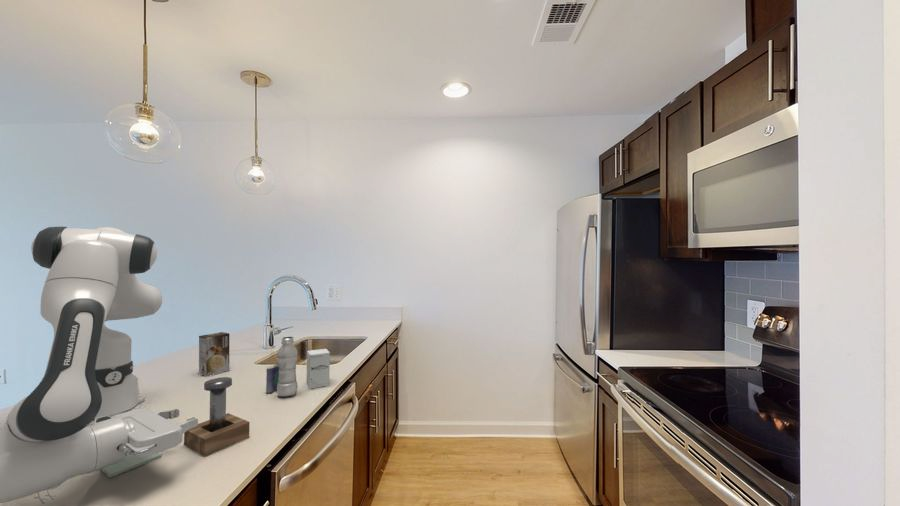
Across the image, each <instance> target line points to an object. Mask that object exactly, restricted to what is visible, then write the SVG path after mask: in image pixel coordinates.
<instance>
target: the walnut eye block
mask: <svg viewBox="0 0 900 506" xmlns="http://www.w3.org/2000/svg"><path fill="white" fill-rule="evenodd" d="M209 421H210V419H208V420H205V421H202V422H200V423H199V422H198V425H197V426H196V427H193V428H190V429H189V430H188V431H186V432H185V433H183V434H184V435H183V438H184V439H183V445H184V446H185V447H187V448H189V449H190V450H192V451H194V452H196V453H197V454H199V455H201V456H203V457H208V456H209V455H212V454H214V453H216V452H219V451H221V450H223V449H225V448H227V447H230V446H233V445H234V444H237V443H239V442H241V441H243V440H246V439H249V438H250V423H251V422H250V421H248V420H246V419H243V418H242V417H239V416H236V415H234V414H231V413H230V412H226V427H224V428H222V429H219V430H216V431H214V432H209Z"/></svg>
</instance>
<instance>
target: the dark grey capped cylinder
mask: <svg viewBox="0 0 900 506" xmlns="http://www.w3.org/2000/svg"><path fill="white" fill-rule="evenodd" d="M203 385H204V386H203V390H204V391H206V392H207V391H208V392H209V420H210V421H209V432H214V431H216V430H219V429H222V428H224V427H226V414H227V389H228V388H230V387H231V386H232V385H233V378H232V377H228V376H225V377H224V376H223V377H216V378H211V379H208V380H206V381H205V382H204V383H203Z"/></svg>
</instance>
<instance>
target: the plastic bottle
mask: <svg viewBox="0 0 900 506" xmlns="http://www.w3.org/2000/svg"><path fill="white" fill-rule="evenodd" d="M294 341H295V340H294V336H283V337H281V346H280V347H279V349H278V350H277V353H276V359H277V361H278V366H279V377H278V384H277V391H276V394H277V395H278V396H279V397H281V398H286V397H291V396H294V395H295V394H296V393H297V391H298V387H299V386H298V381H297V371H296V369H297V368H296V367H297V360H298V354H299V353H298V349H297V348H296V346H295V345H294Z"/></svg>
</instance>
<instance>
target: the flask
mask: <svg viewBox="0 0 900 506" xmlns="http://www.w3.org/2000/svg"><path fill="white" fill-rule="evenodd" d="M275 362H276V363H275V364H273V365H272V366H268V367H266V379H265V381H266V386H265V387H266V389H265V392H266V393H265V394H273V393H277V384H278V377H279V366H278V359H276V360H275Z"/></svg>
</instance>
